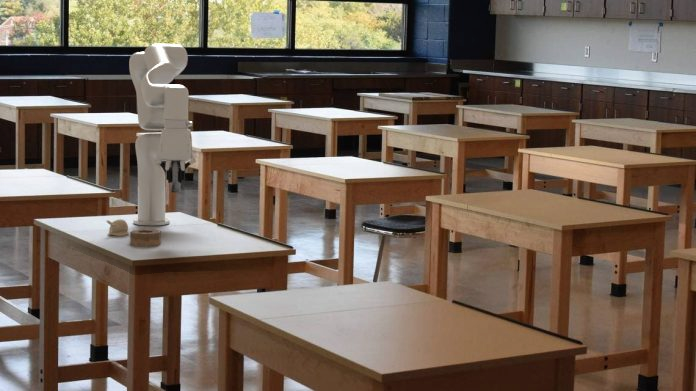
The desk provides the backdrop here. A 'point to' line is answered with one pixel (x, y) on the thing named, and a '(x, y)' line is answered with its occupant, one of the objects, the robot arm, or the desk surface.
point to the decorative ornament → (118, 228)
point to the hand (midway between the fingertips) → (175, 182)
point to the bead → (145, 237)
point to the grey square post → (175, 176)
